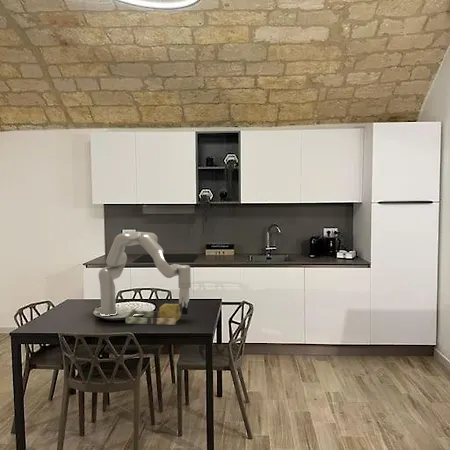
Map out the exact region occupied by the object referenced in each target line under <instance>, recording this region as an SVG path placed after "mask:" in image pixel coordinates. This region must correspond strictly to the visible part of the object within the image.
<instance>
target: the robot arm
mask: <svg viewBox="0 0 450 450" xmlns="http://www.w3.org/2000/svg"><path fill="white" fill-rule="evenodd" d="M137 245H140V246H141V247H142V248H143V249H144V250H145V252H147V253H148V255H150V257H151V258H152V260H153V263H154V265H155V267H156V268H157V270H158V272H160V273H161V275H162V276H164V277H165V278H167V279H172V278H174V277H178V283H177V284H178V286H177V287H178V291H179V293H178V304H179V305H181V315H188V313H189V310H188V308H189V307H188V303H189V301H190V288H191V287H192V285H191V284H192V283H191V280H192V279H191V278H192V277H191V266H190V265H188V264H178V263H171V264H169V263H168V262H167V260H165V257H164V252H165V251H164V249H163V248H162V246H161V245H160V244H159V243H158V235H156V234H155V233H154V232H146V231H132V232H131V231H130V232H124V233H123V232H122V233H118V235H116V236H115V237H114V239H113V242H112V244H111V247H110V250H109V252H108V255H107V257H106V260H105V261H106V262H105V263H106V264H107V266H105V267H102V268H101V269H100V270H99V272H98V281H99V286H100V287H99V288H100V307H95V309H94V311H95V312H100V313H101V314H105V315H108V314H109V315H110V314H115V313H116V311H117V310H116V309H117V307H116V306H117V305H116V303H117V302H116V300H117V299H116V284H115V281H114V280H117V279H119V278H120V277H121V276H122V273H123V271H124V270H125V269H124V268H125V266H126V264H127V261H128V256H127V253H126V252H125V249H126V247H131V246H137Z"/></svg>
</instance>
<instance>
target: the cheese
mask: <svg viewBox="0 0 450 450" xmlns="http://www.w3.org/2000/svg"><path fill="white" fill-rule="evenodd" d="M180 305H181V304H179V303H163V304H162V305H161V306H159V313H160V314H159V317H158V318H174V319H176V322H178V321H179V320H180V318H179V316H180V312H181V306H180Z"/></svg>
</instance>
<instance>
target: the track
mask: <svg viewBox="0 0 450 450" xmlns="http://www.w3.org/2000/svg"><path fill="white" fill-rule="evenodd" d="M134 314H144V316H143V317H132V316H133V315H134ZM159 314H160V313H159V311H156V310H155V311H154V310H152V311H151V310H136V309H135V308H133V309H132V310H131V311H130V312H129V313H128V314H126V315H125V324H137V325H138V324H139V325H143V324H144V325H169V326H170V325H173V326H174V325H177V321H176V319H174V318H160V317H159ZM181 316H182V311H180V316H179V319H181V318H182V317H181Z"/></svg>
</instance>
